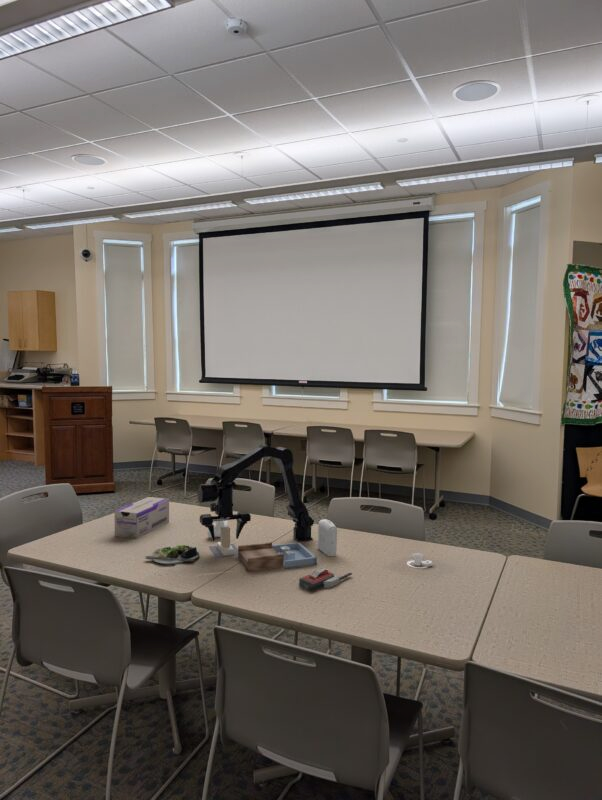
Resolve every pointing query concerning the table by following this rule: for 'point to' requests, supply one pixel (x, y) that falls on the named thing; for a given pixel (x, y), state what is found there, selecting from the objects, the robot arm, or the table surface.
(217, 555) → the mat
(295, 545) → the chip tray
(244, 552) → the groove block
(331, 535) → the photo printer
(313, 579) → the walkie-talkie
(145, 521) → the surgical sutures box
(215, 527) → the bust
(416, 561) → the teacup and saucer
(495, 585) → the table surface
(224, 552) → the plate with square knob
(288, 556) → the grey square block
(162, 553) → the salad plate
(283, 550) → the chip
